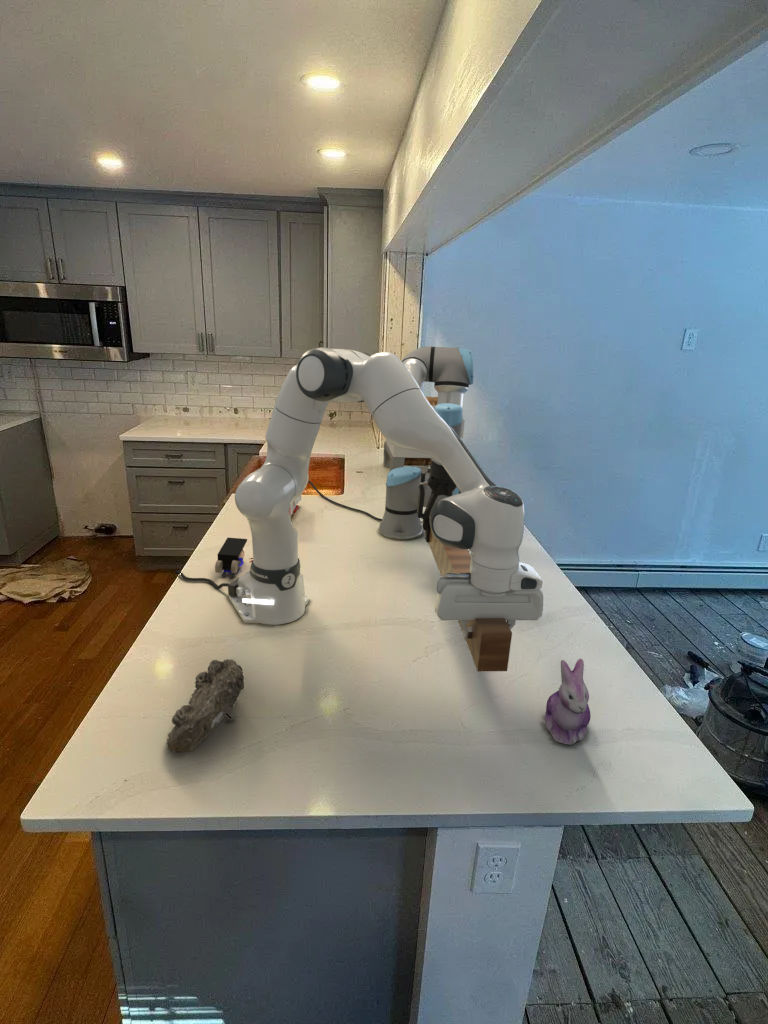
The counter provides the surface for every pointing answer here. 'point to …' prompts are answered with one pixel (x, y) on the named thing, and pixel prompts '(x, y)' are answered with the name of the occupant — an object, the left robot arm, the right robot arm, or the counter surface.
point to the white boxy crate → (408, 451)
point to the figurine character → (230, 556)
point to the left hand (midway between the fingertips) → (484, 637)
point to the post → (487, 633)
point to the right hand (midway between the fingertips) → (438, 540)
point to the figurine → (569, 706)
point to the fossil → (206, 705)
